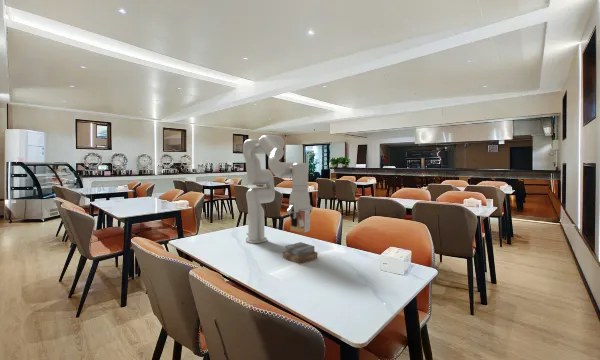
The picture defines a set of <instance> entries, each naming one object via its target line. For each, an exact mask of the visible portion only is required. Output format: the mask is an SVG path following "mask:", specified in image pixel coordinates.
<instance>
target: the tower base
mask: <svg viewBox="0 0 600 360" xmlns="http://www.w3.org/2000/svg"><path fill="white" fill-rule="evenodd" d="M315 249H316V247H315V246H314V245H312V244H308V243H305V242H301V241H300V242H296V243H292V244H287V245H285V251H282V259H284V260H287V261H290V262H293V263H295V264H297V265H301V264H305V263H307V262H312V261H315V260H317V259H318V251H315Z"/></svg>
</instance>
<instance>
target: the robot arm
mask: <svg viewBox="0 0 600 360" xmlns="http://www.w3.org/2000/svg"><path fill="white" fill-rule="evenodd" d="M284 147H285V140H284V138H283V137H282V136H280V135H273V134H264V135H261V136H260V137H259V138H250V139H246V140H245V141H244V142H243V144H242V155H243V158H244V161H245V168H246V177H247V180H246V181H247V182H248V185H250V186H259V187H251V188H249V189H248V190H247V191H246V193H245V196H246V197H245V198H246V199H245V200H246V203H247V221H248V222H247V223H248V225H247V226H248V227H247V228H248V229H247V230H248V231H247V232H246V235H247V237H246V238H245V242H246V243H250V244H262V243H265V242H267V241H268V237H266V236H265V209H264V207H263V205H262V204H267V203H268V204H269V203H272V202H274V200H275V197H276V191H275V190H276V189H275V180H274V176H276V177H277V178H279V179H281V178H283V179H285V178H291V181H292V182H291V183H292V185H291V186H292V187H291V190H292V191H291V192H290V193H289V194H290V195H289V199H288V200H289V201H288V208H287V209H286V213H287V215H288V216H289V217H290V223H291V225H292V226H294V227H297V218H296V216H297V213H299V212H300V210H305V209H310V214H311V213H312V211H313V209H314V207H313V206H312V204H311V198H310V192H309V187H310V186H309V182H308V181H309V165H308V163H306V162H293V161H292V162H291V161H290V162H288V161H287V162H281V161H280V160H281V159H282V158H283V156H284V154H285V150H284ZM257 154H259V155H266V156H267V157H268V161H267V162H268V167H269V169H267V168H265V169H263V168H262V167H261V160H260V158H259V157H258V156H257ZM260 186H261V187H260ZM262 186H263V187H262ZM292 209H293V210H292ZM291 211H292V213H291Z"/></svg>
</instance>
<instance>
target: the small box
mask: <svg viewBox="0 0 600 360" xmlns="http://www.w3.org/2000/svg"><path fill="white" fill-rule="evenodd" d="M292 210H293V209H292ZM291 213H292V211H291ZM296 218H297V227H294V226H292V225H291V222H290V223H289V224H290V229H289V230H290V232H291V231H292V232H297V233H298V232H299V233H306V232H309V231H310V230H311V213H310V209H305V210H300V212H299V213H297V216H296Z"/></svg>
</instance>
